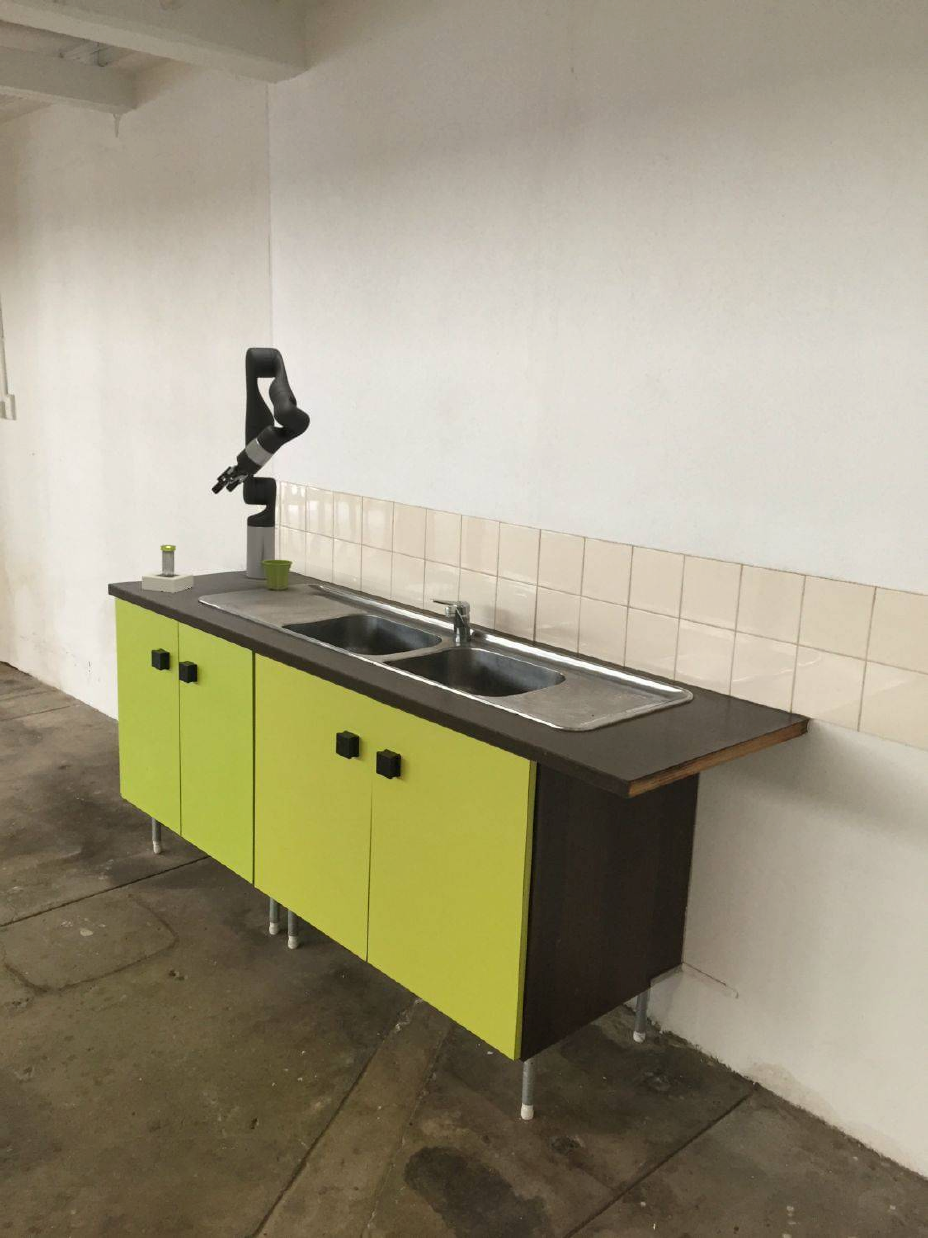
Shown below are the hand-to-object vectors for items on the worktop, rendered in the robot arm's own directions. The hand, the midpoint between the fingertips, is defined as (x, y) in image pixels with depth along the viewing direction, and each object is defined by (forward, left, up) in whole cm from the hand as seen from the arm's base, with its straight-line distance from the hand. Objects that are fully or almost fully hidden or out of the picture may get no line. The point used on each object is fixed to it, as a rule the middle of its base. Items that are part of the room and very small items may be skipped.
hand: (221, 490), depth 316 cm
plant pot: (-12, +13, -31) cm, 36 cm away
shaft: (+6, -15, -31) cm, 34 cm away
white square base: (+6, -15, -31) cm, 34 cm away
